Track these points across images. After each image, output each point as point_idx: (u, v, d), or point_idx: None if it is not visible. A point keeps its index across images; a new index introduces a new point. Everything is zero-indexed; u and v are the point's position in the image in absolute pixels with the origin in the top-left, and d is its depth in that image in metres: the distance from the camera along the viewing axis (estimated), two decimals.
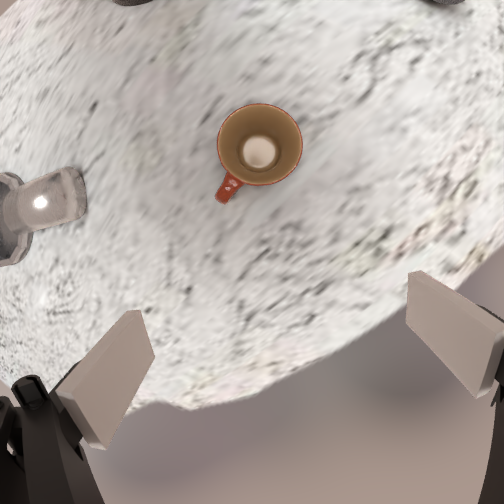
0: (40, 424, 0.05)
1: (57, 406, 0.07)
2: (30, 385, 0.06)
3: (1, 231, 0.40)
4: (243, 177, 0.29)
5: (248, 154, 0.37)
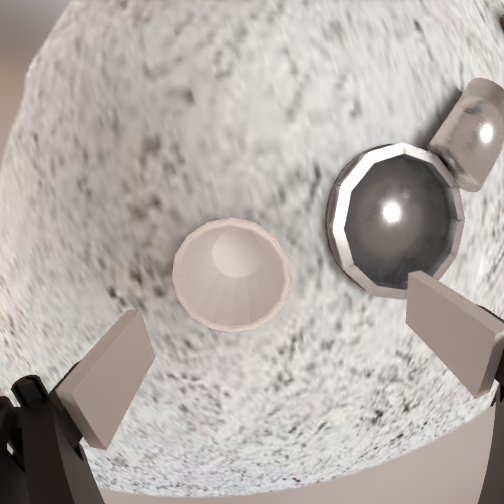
0: (40, 424, 0.05)
1: (57, 406, 0.07)
2: (30, 385, 0.06)
3: (405, 240, 0.31)
4: None
5: None
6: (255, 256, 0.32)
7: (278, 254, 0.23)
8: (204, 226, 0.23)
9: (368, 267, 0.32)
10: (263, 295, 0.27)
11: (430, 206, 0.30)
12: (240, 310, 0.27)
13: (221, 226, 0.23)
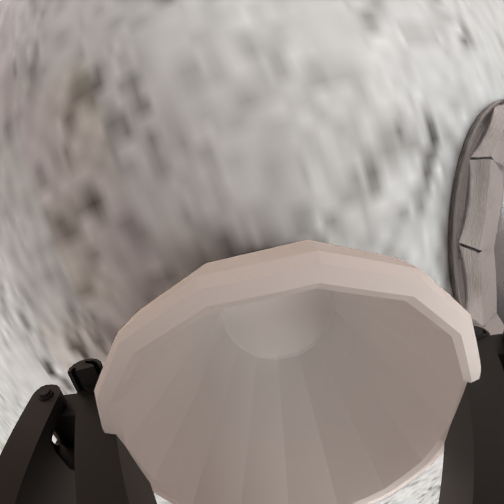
0: (96, 410, 0.06)
1: None
2: (89, 369, 0.07)
3: None
4: None
5: None
6: (317, 314, 0.14)
7: (464, 366, 0.05)
8: (187, 295, 0.04)
9: (499, 309, 0.13)
10: (360, 426, 0.09)
11: None
12: (304, 464, 0.09)
13: (274, 294, 0.04)
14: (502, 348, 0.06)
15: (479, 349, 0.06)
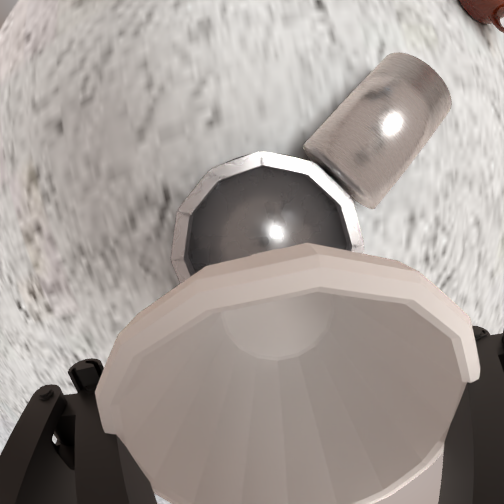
0: (97, 410, 0.06)
1: None
2: (90, 369, 0.07)
3: None
4: None
5: None
6: (317, 315, 0.14)
7: (464, 368, 0.05)
8: (188, 299, 0.04)
9: None
10: (360, 427, 0.09)
11: (313, 228, 0.27)
12: (304, 465, 0.09)
13: (274, 297, 0.04)
14: (502, 348, 0.06)
15: (479, 349, 0.06)
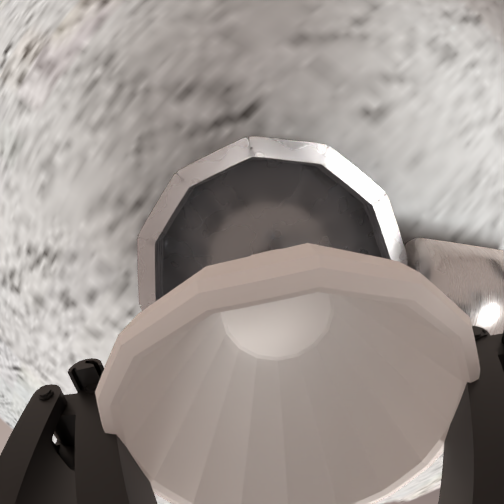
0: (97, 410, 0.06)
1: None
2: (90, 369, 0.07)
3: None
4: None
5: None
6: (317, 315, 0.14)
7: (464, 368, 0.05)
8: (189, 299, 0.04)
9: (175, 275, 0.19)
10: (360, 427, 0.09)
11: None
12: (304, 465, 0.09)
13: (275, 297, 0.04)
14: (502, 348, 0.06)
15: (479, 349, 0.06)
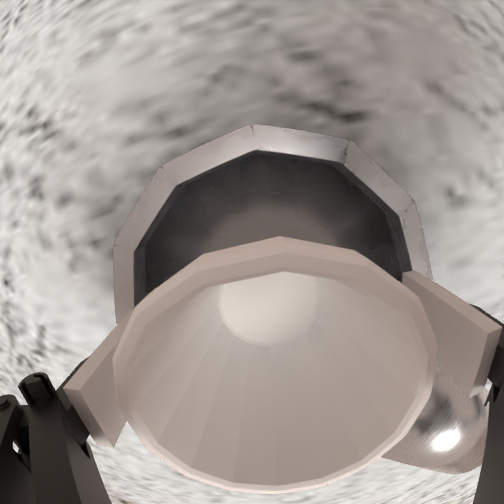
0: (47, 422, 0.05)
1: (64, 404, 0.07)
2: (38, 383, 0.06)
3: None
4: None
5: None
6: (305, 304, 0.16)
7: (419, 342, 0.07)
8: (189, 276, 0.06)
9: (172, 233, 0.15)
10: (341, 403, 0.11)
11: None
12: (291, 438, 0.10)
13: (251, 274, 0.06)
14: None
15: None
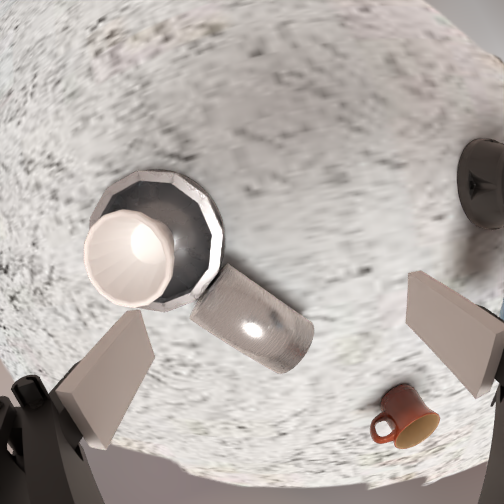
0: (40, 424, 0.05)
1: (57, 406, 0.07)
2: (30, 385, 0.06)
3: None
4: (396, 441, 0.35)
5: None
6: None
7: (158, 237, 0.26)
8: (101, 218, 0.25)
9: None
10: (161, 276, 0.30)
11: None
12: (142, 289, 0.30)
13: (113, 217, 0.25)
14: None
15: None
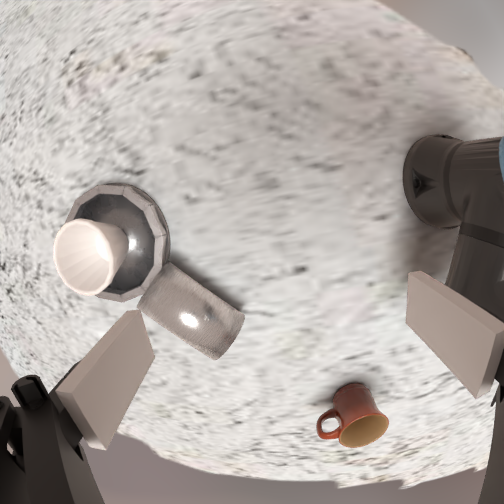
0: (40, 424, 0.05)
1: (57, 406, 0.07)
2: (30, 385, 0.06)
3: None
4: (341, 438, 0.38)
5: None
6: None
7: (102, 240, 0.31)
8: (64, 225, 0.31)
9: None
10: None
11: (128, 269, 0.42)
12: (98, 282, 0.35)
13: (72, 224, 0.31)
14: None
15: None
